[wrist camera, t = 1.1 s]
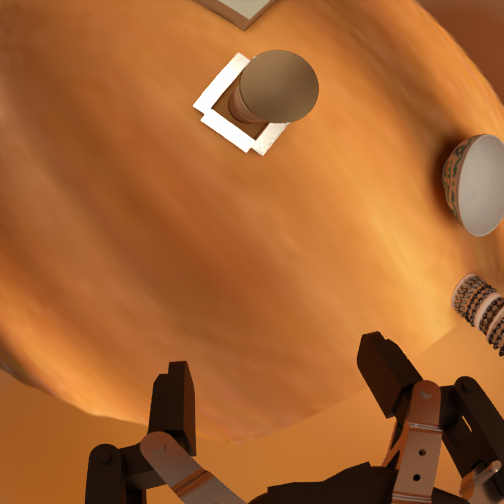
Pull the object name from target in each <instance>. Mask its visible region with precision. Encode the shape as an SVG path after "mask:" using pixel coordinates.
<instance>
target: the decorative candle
mask: <svg viewBox="0 0 504 504" xmlns="http://www.w3.org/2000/svg"><path fill="white" fill-rule="evenodd" d="M451 306H452V307H453V309H455V310H457V313H460V315H461V314H462V315H461V317H465V319H466V320H467V322H470V324H471V326H472V327H474V326H475V327H476V328H477V329H478V330H479V331H482V332H483V333H484V334H485V335H486V336H487V337H486V339H487V341H488V342H489V344H494V345H493V348H494V349H497V348H500V351H499V356H503V355H504V299H503V298H502V296H501V295H500V294H498V293H497V290H496V289H494V288H492V286H491V285H488V284H487V283H486V281H484V280H482V279H481V278H480V277H478V276H476V275H475V274H473V273H470V274H467V275H466V276H465V277H463V278H462V279H461V280H460V282H459V283H458V284H457V285H456V287H455V289H454V291H453V294H452V297H451Z"/></svg>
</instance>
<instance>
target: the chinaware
mask: <svg viewBox="0 0 504 504" xmlns="http://www.w3.org/2000/svg"><path fill="white" fill-rule="evenodd" d="M442 182H443V186H444V191H445V196H446V200H447V203H448V205H449V208H450V210H451V212H452V213H453V215H454V217H455V218H456V219H457V221H458V222H459V223H460V224H461V225H462V226H463V227H464V228H465V229H466V230H467V231H468V232H469V233H471V234H472V235H474V236H484V235H487V234H488V233H490V232H491V231H493V230H494V229H495V228H496V227H497V225H498V224H499V223H500V221H501V220H502V218H503V216H504V143H503V142H502V141H501V140H500V139H499V138H498V137H496V136H494V135H491V134H482V135H476V136H473V137H470V138H468V139H466V140H464V141H463V142H461V143H460V144H459V145H458V146H457V147H456V148H455V149H454V150H453V152H452V153H451V155H450V157H449V158H448V159H447V160H446V162H445V164H444V167H443V171H442Z"/></svg>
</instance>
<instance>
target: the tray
mask: <svg viewBox="0 0 504 504" xmlns="http://www.w3.org/2000/svg"><path fill="white" fill-rule="evenodd" d="M193 1H195V2H197V3H199V4H200V5H202V6H204V7H206V8H208V9H209V10H211V11H213V12H214V13H216V14H218V15H219V16H221V17H223V18H224V19H226V20H228V21H229V22H231V23H232V24H234V25H235V26H237V27H239V28H240V29H242V30H243V31H245V30H246V29H247V28H248V27H249V26H250V25H251V24H252V23H253V22H254V21H255V20H256V19H258V18H259V17H260V16H261V15H262V14H263V13H264V12H265V11H266V10H267V9H268V8H269V7H270V6H271V5H273V4H274V3H275V2H276V1H277V0H193Z"/></svg>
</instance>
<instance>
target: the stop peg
mask: <svg viewBox="0 0 504 504" xmlns="http://www.w3.org/2000/svg"><path fill="white" fill-rule="evenodd" d="M318 93H319V85H318V80H317V77H316V74H315V72H314V70H313V69H312V67H311V66H310V65H309V63H308V62H306V61H305V60H304V59H303V58H302V57H300V56H298V55H297V54H294V53H292V52H289V51H284V50H270V51H266V52H263V53H261V54H259V55H257V56H256V57H254V58H253V59H252V60H251V61H250V62H249V63H248V64H247V66H246V67H245V69H244V70H243V72H242V74H241V77H240V81H239V84H238V86H237V87H236V89H235V90H234V91H233V93H232V94H231V96H230V98H229V101H228V108H229V111H230V113H231V115H232V116H233V117H234V118H235V119H236V120H238V121H240V122H242V123H255V122H262V121H266V122H270V123H290V122H294V121H297V120H299V119H301V118H303V117H304V116H306V115H307V114H308V113H309V112H310V111H311V110H312V108H313V107H314V105H315V103H316V101H317V98H318Z"/></svg>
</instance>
